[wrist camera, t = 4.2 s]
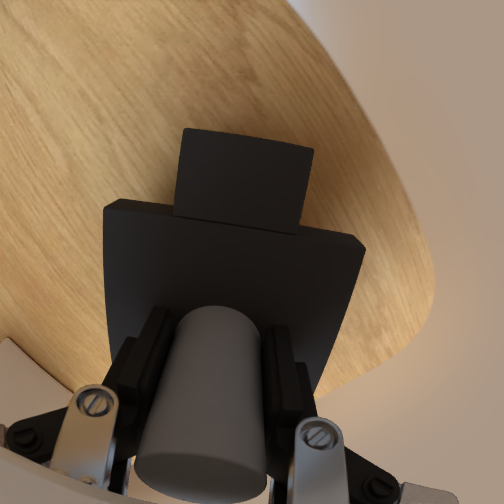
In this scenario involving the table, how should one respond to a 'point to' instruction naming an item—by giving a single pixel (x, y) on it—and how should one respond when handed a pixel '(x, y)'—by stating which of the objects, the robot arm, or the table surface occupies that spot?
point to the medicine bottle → (26, 387)
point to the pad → (223, 304)
